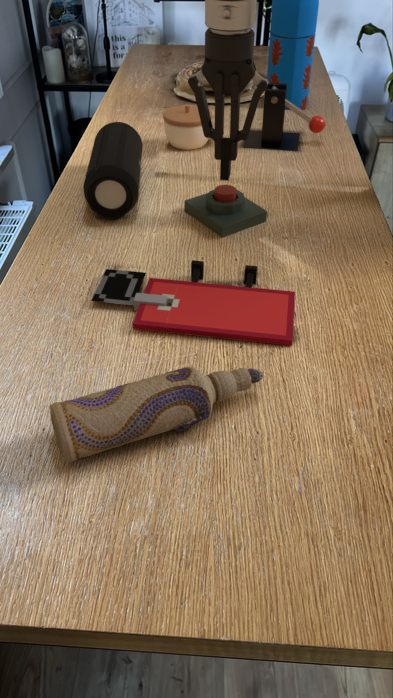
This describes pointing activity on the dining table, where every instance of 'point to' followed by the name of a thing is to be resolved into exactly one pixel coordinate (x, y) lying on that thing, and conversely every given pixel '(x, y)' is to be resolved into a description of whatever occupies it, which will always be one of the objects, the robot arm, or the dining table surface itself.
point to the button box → (225, 213)
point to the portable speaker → (114, 170)
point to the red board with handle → (203, 306)
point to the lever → (307, 117)
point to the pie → (205, 86)
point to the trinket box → (184, 127)
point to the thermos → (292, 47)
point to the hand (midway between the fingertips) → (225, 176)
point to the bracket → (273, 123)
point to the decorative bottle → (142, 409)
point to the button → (225, 193)
